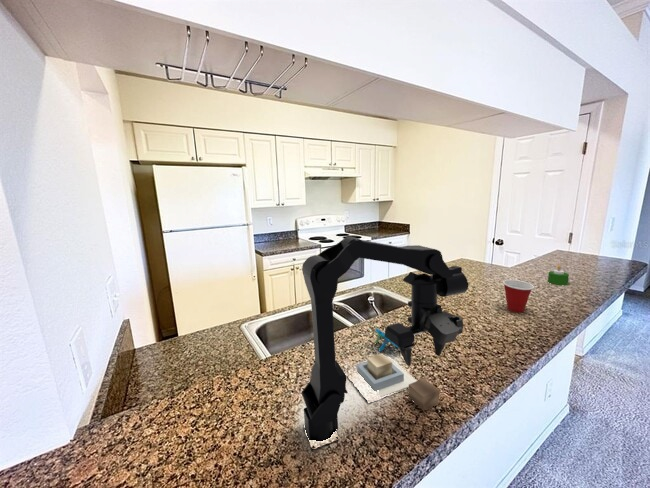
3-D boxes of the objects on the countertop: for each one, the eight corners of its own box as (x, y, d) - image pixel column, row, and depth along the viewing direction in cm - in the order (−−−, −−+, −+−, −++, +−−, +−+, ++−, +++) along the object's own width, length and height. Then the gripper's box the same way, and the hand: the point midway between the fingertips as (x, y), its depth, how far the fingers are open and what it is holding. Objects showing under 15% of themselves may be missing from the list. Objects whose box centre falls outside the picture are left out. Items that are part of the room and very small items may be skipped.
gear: (408, 350, 88) (387, 332, 86) (398, 365, 87) (376, 348, 85) (390, 338, 99) (371, 322, 97) (381, 352, 98) (361, 336, 96)
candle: (544, 282, 150) (545, 264, 148) (554, 280, 152) (556, 262, 150) (560, 286, 142) (562, 267, 140) (571, 284, 144) (573, 265, 143)
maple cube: (377, 384, 74) (376, 367, 73) (367, 373, 79) (367, 357, 78) (392, 378, 76) (392, 362, 75) (382, 368, 81) (381, 353, 80)
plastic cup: (524, 317, 110) (526, 289, 108) (496, 309, 119) (497, 282, 117) (537, 311, 115) (539, 283, 113) (509, 303, 124) (510, 277, 122)
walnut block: (423, 411, 65) (423, 396, 65) (408, 398, 70) (408, 384, 69) (438, 404, 67) (438, 390, 67) (423, 392, 72) (423, 378, 71)
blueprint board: (368, 404, 68) (368, 393, 68) (343, 372, 81) (343, 363, 81) (419, 385, 74) (419, 375, 74) (388, 358, 87) (388, 349, 86)
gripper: (416, 321, 53) (415, 392, 56) (483, 303, 60) (480, 367, 63) (383, 302, 63) (384, 363, 66) (444, 289, 70) (442, 344, 73)
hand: (423, 360), depth 67 cm, fingers open, 9 cm apart
